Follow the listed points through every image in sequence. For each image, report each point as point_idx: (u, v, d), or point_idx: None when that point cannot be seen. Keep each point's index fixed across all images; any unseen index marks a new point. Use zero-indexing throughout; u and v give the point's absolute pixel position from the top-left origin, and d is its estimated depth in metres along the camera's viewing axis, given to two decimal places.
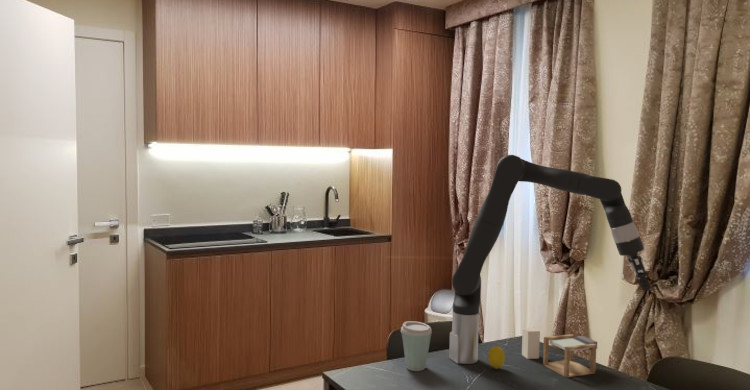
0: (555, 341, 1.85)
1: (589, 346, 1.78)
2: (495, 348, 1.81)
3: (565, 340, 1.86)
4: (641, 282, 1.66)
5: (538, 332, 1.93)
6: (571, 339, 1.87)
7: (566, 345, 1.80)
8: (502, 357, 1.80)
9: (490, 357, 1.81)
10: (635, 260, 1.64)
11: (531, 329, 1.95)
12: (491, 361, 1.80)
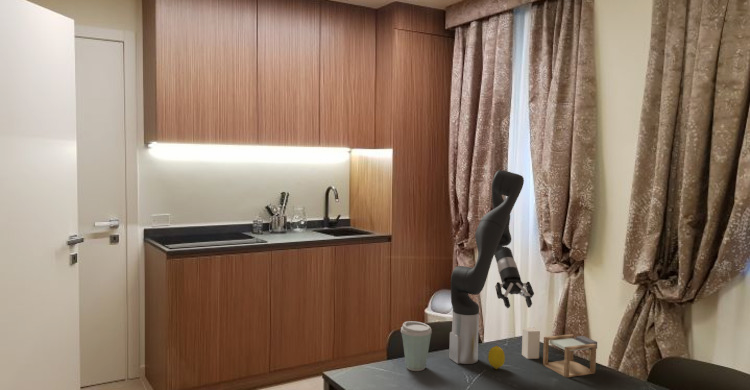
0: (555, 341, 1.85)
1: (589, 346, 1.78)
2: (495, 348, 1.81)
3: (565, 340, 1.86)
4: None
5: (538, 332, 1.93)
6: (571, 339, 1.87)
7: (566, 345, 1.80)
8: (502, 357, 1.80)
9: (490, 357, 1.81)
10: None
11: (531, 329, 1.95)
12: (491, 361, 1.80)
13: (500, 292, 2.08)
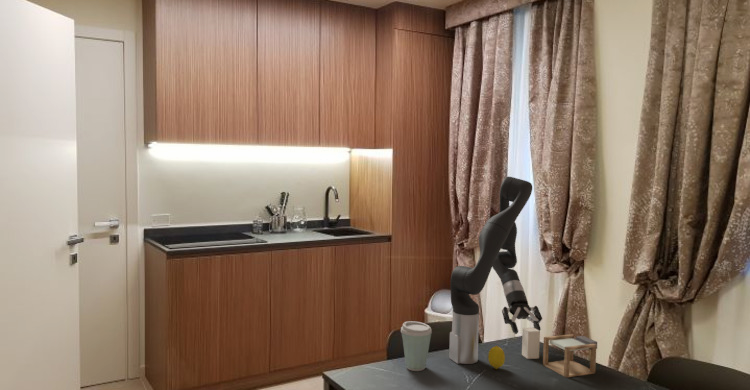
0: (555, 341, 1.85)
1: (589, 346, 1.78)
2: (495, 348, 1.81)
3: (565, 340, 1.86)
4: (537, 324, 2.00)
5: (538, 332, 1.93)
6: (571, 339, 1.87)
7: (566, 345, 1.80)
8: (502, 357, 1.80)
9: (490, 357, 1.81)
10: None
11: (531, 329, 1.95)
12: (491, 361, 1.80)
13: (507, 317, 2.00)
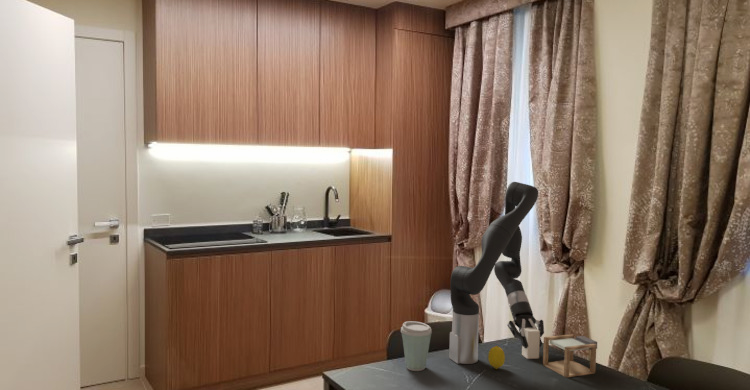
0: (555, 341, 1.85)
1: (589, 346, 1.78)
2: (495, 348, 1.81)
3: (565, 340, 1.86)
4: None
5: (538, 332, 1.93)
6: (571, 339, 1.87)
7: (566, 345, 1.80)
8: (502, 357, 1.80)
9: (490, 357, 1.81)
10: None
11: (531, 329, 1.95)
12: (491, 361, 1.80)
13: (517, 331, 1.95)
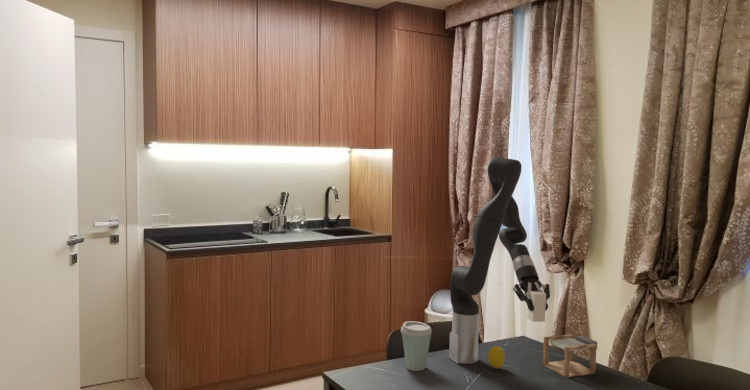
0: (555, 341, 1.85)
1: (589, 346, 1.78)
2: (495, 348, 1.81)
3: (565, 340, 1.86)
4: None
5: (544, 295, 1.91)
6: (571, 339, 1.87)
7: (566, 345, 1.80)
8: (502, 357, 1.80)
9: (490, 357, 1.81)
10: None
11: (537, 292, 1.92)
12: (491, 361, 1.80)
13: (523, 294, 1.93)
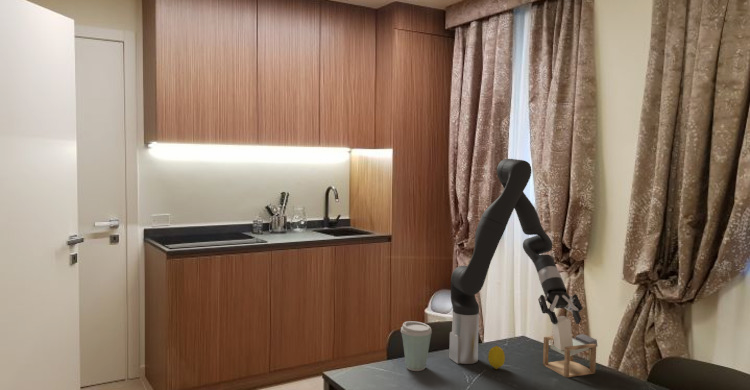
0: None
1: (589, 346, 1.78)
2: (495, 348, 1.81)
3: None
4: (577, 314, 1.82)
5: (569, 321, 1.80)
6: None
7: None
8: (502, 357, 1.80)
9: (490, 357, 1.81)
10: None
11: (561, 318, 1.82)
12: (491, 361, 1.80)
13: (545, 306, 1.82)
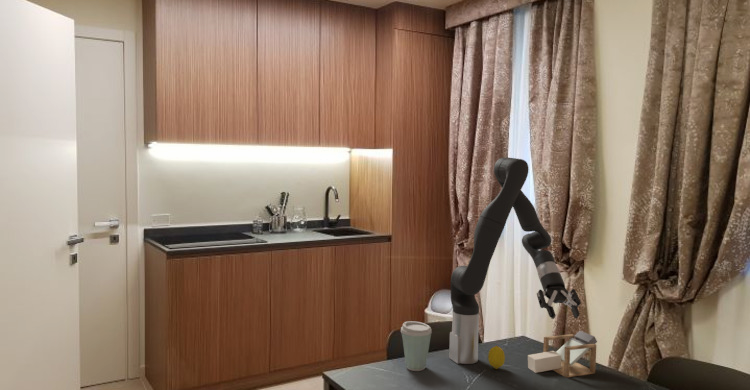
0: None
1: (589, 346, 1.78)
2: (495, 348, 1.81)
3: (566, 345, 1.87)
4: (576, 309, 1.84)
5: (536, 361, 1.79)
6: (571, 341, 1.87)
7: None
8: (502, 357, 1.80)
9: (490, 357, 1.81)
10: None
11: (531, 363, 1.81)
12: (491, 361, 1.80)
13: (543, 300, 1.84)
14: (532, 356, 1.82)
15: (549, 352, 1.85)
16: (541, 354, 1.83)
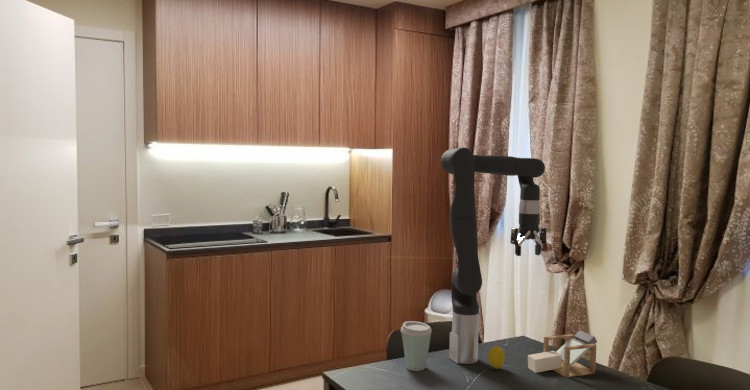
0: None
1: (589, 346, 1.78)
2: (495, 348, 1.81)
3: (566, 345, 1.87)
4: (539, 248, 2.01)
5: (536, 361, 1.79)
6: (571, 341, 1.87)
7: None
8: (502, 357, 1.80)
9: (490, 357, 1.81)
10: None
11: (531, 363, 1.81)
12: (491, 361, 1.80)
13: (515, 240, 1.96)
14: (532, 356, 1.82)
15: (549, 352, 1.85)
16: (541, 354, 1.83)
